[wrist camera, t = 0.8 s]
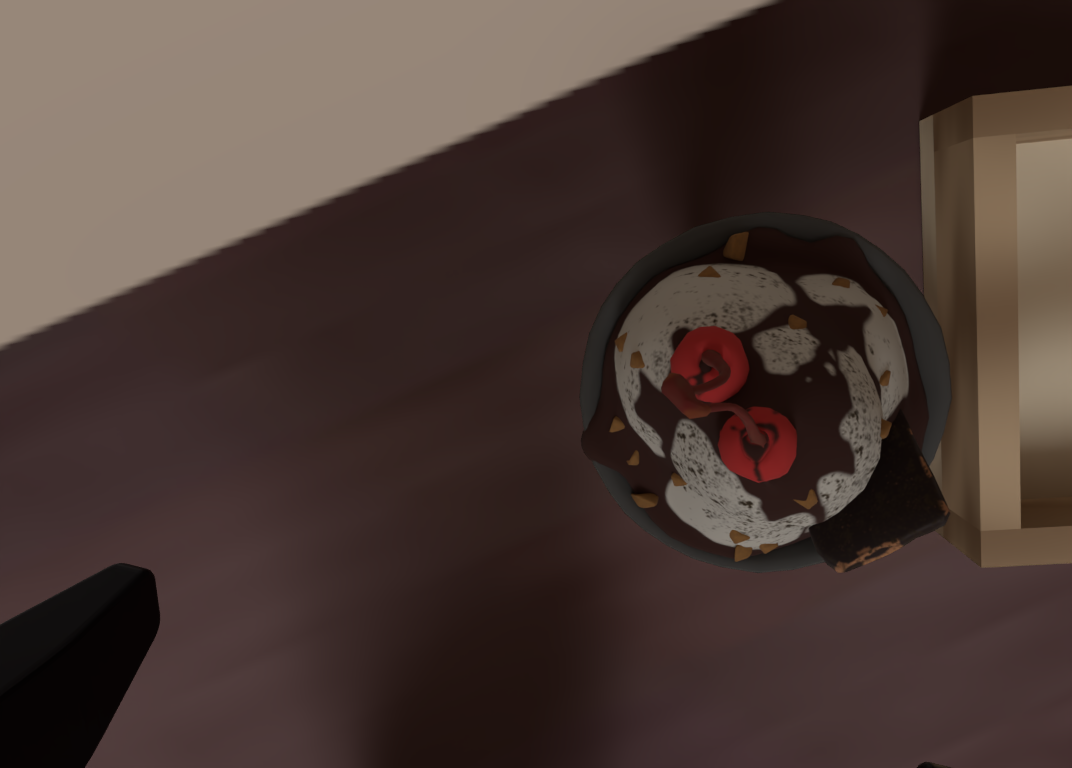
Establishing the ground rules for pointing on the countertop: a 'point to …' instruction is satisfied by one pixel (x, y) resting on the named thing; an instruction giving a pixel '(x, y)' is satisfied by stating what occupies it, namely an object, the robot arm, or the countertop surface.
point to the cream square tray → (1003, 320)
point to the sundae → (769, 396)
